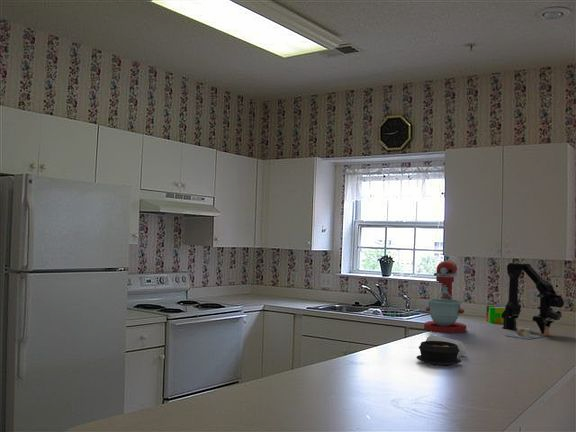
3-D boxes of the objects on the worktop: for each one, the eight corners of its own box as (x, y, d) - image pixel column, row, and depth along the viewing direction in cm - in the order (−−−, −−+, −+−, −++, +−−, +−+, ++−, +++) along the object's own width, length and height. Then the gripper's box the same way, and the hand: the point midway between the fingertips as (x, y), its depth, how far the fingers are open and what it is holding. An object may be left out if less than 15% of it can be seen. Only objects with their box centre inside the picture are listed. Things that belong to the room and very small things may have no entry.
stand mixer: (420, 331, 349) (421, 260, 351) (427, 324, 379) (429, 259, 380) (463, 335, 341) (465, 262, 342) (468, 327, 370) (469, 261, 372)
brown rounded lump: (538, 335, 350) (539, 326, 350) (542, 334, 353) (542, 325, 353) (546, 336, 346) (547, 327, 346) (550, 335, 349) (550, 326, 349)
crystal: (473, 348, 277) (436, 339, 299) (462, 341, 275) (427, 333, 296) (466, 363, 276) (430, 353, 297) (456, 356, 273) (420, 346, 294)
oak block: (517, 335, 343) (517, 328, 343) (521, 334, 347) (521, 327, 347) (525, 336, 340) (525, 329, 340) (530, 335, 343) (530, 328, 343)
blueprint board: (504, 335, 343) (504, 335, 343) (518, 333, 354) (518, 332, 354) (528, 339, 333) (528, 338, 333) (542, 337, 343) (542, 336, 343)
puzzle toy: (501, 321, 405) (502, 306, 406) (505, 323, 395) (506, 308, 396) (486, 320, 406) (486, 305, 407) (489, 323, 396) (490, 307, 397)
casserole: (461, 371, 245) (462, 350, 246) (414, 367, 250) (414, 346, 251) (461, 360, 270) (461, 340, 270) (418, 356, 275) (418, 337, 275)
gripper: (551, 308, 338) (551, 336, 337) (566, 306, 350) (566, 333, 350) (532, 305, 346) (531, 333, 345) (547, 304, 359) (546, 331, 358)
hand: (544, 333), depth 349 cm, fingers closed on brown rounded lump, 5 cm apart
